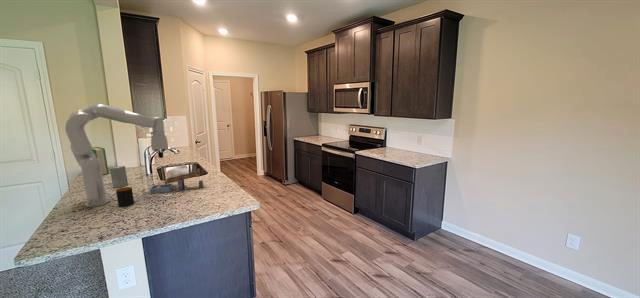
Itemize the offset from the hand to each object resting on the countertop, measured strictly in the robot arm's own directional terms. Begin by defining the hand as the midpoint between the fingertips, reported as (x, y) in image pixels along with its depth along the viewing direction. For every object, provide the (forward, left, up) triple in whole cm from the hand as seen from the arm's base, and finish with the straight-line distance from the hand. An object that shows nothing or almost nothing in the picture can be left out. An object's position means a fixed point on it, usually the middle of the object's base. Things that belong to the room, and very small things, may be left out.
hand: (161, 157), depth 203 cm
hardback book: (+65, +68, -24) cm, 97 cm away
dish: (-9, 0, -23) cm, 25 cm away
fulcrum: (-9, -13, -23) cm, 28 cm away
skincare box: (+15, +35, -24) cm, 44 cm away
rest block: (-9, -27, -23) cm, 37 cm away
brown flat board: (-4, -15, -15) cm, 22 cm away
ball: (-9, +2, -21) cm, 23 cm away
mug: (-32, +15, -24) cm, 42 cm away
